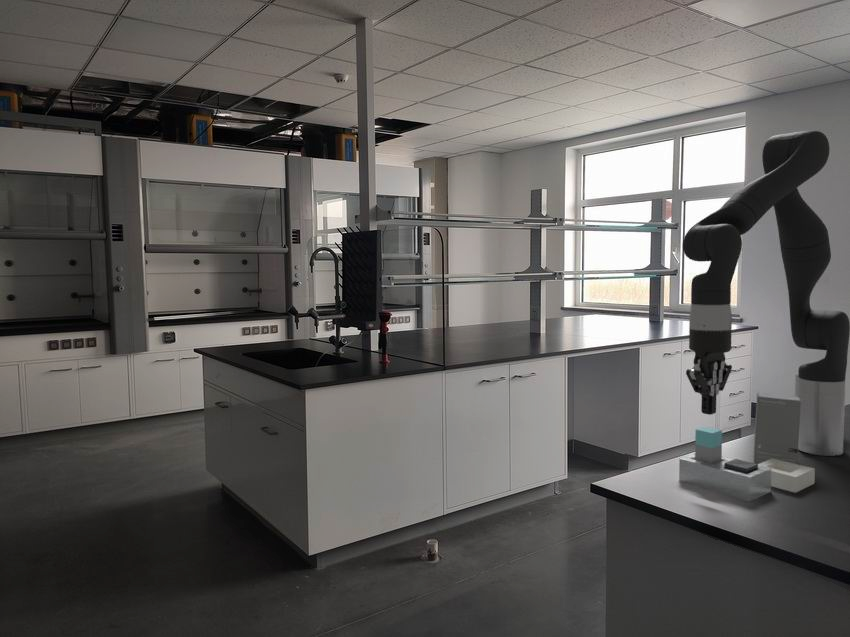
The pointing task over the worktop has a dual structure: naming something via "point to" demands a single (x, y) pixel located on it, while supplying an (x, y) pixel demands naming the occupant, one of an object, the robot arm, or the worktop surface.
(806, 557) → the worktop surface
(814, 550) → the worktop surface
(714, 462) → the plug
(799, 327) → the robot arm
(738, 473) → the metal switch box
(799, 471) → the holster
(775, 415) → the skincare box
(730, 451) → the worktop surface
